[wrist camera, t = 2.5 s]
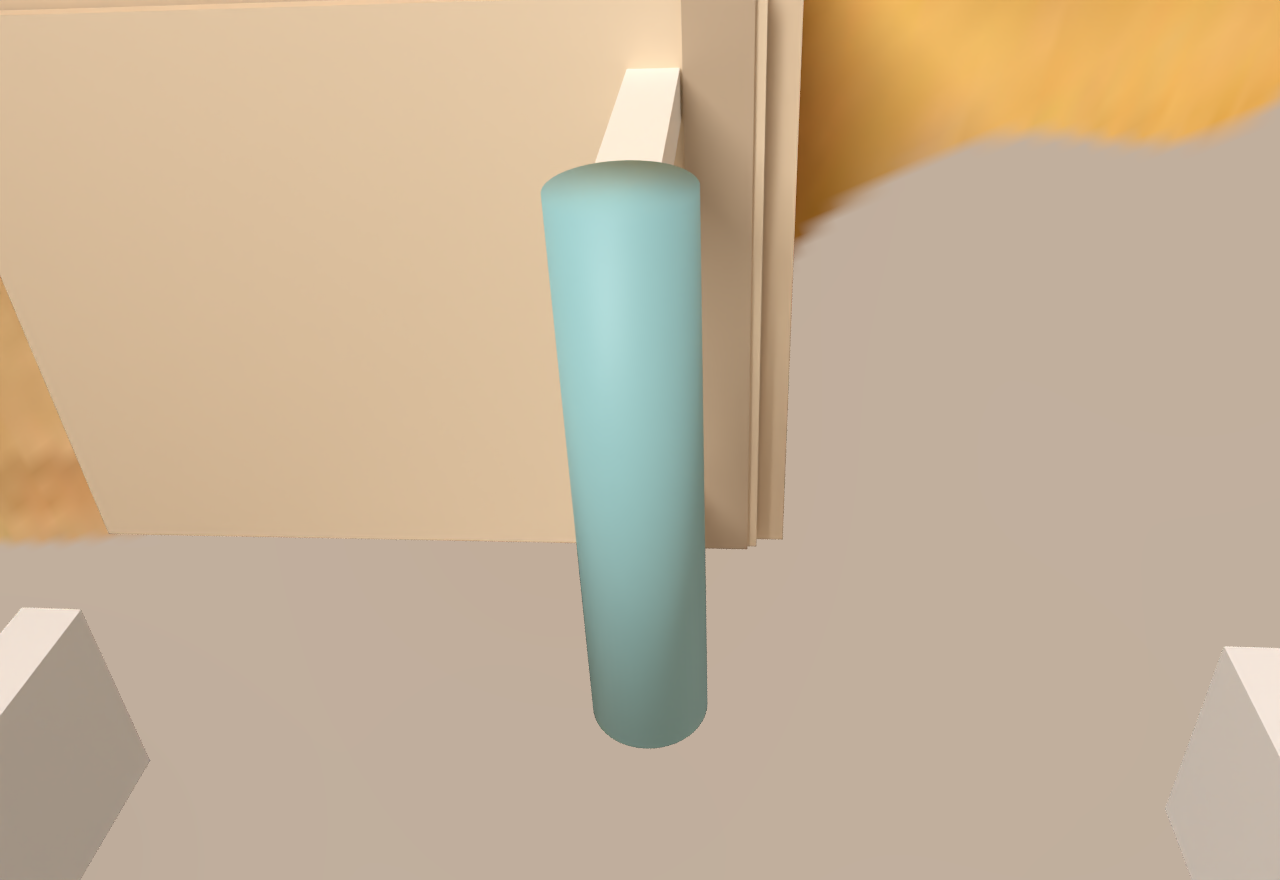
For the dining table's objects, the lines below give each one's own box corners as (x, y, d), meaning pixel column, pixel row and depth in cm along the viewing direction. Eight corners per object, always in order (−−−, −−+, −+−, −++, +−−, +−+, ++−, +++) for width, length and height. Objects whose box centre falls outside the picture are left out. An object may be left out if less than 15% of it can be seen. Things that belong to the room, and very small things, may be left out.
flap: (117, 523, 25) (-68, 760, 20) (-94, 13, 19) (-462, 145, 13) (756, 534, 24) (758, 795, 18) (767, -13, 17) (777, 123, 12)
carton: (300, 286, 36) (114, 527, 26) (203, -105, 30) (-106, 0, 19) (771, 284, 35) (782, 539, 24) (783, -128, 28) (805, -29, 17)
